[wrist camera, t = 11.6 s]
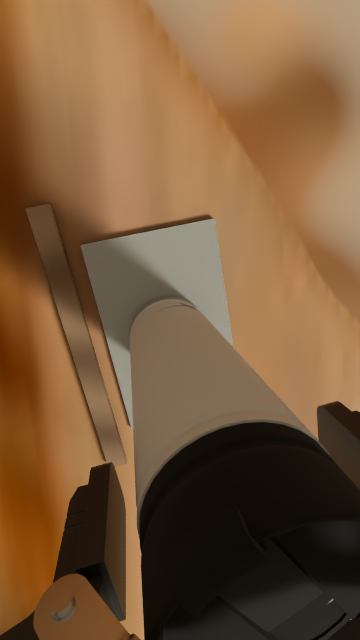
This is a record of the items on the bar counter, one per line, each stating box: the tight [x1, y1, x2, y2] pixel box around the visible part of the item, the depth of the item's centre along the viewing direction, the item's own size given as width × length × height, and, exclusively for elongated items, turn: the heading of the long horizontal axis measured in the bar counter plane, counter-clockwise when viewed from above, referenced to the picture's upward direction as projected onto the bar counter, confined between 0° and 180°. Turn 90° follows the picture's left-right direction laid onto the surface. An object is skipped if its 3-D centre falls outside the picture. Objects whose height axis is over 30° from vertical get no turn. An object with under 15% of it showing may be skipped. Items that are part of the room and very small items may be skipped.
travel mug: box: [130, 296, 360, 640], centre depth 16 cm, size 6×7×20 cm
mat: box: [80, 218, 233, 430], centre depth 25 cm, size 16×10×1 cm, turn 11°
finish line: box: [25, 204, 126, 467], centre depth 25 cm, size 22×2×1 cm, turn 11°
